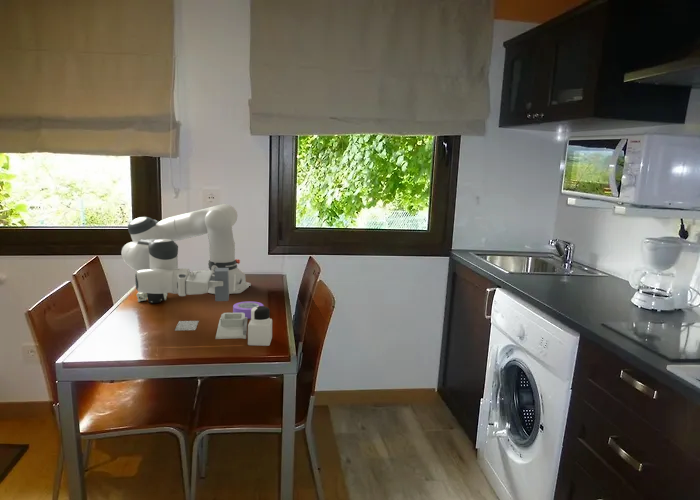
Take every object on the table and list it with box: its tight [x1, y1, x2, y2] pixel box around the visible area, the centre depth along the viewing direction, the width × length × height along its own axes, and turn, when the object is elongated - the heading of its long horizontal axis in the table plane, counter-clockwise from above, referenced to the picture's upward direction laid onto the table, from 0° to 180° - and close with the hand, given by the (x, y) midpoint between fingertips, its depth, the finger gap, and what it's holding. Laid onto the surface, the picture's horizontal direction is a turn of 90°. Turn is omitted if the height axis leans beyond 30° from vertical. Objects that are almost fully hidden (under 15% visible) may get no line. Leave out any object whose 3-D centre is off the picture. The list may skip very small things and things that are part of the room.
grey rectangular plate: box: [174, 320, 200, 332], centre depth 179 cm, size 10×7×1 cm
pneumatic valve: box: [135, 291, 168, 305], centre depth 207 cm, size 6×12×12 cm
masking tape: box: [232, 301, 264, 320], centre depth 195 cm, size 12×12×4 cm
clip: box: [214, 268, 230, 302], centre depth 177 cm, size 4×4×11 cm
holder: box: [215, 312, 248, 340], centre depth 177 cm, size 20×10×4 cm, turn 10°
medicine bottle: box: [247, 305, 273, 347], centre depth 166 cm, size 7×7×12 cm
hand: (224, 281), depth 177 cm, fingers closed on clip, 5 cm apart
